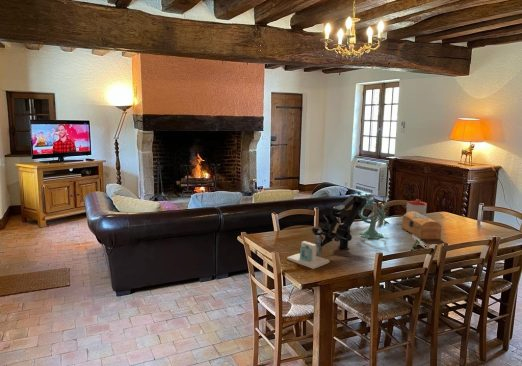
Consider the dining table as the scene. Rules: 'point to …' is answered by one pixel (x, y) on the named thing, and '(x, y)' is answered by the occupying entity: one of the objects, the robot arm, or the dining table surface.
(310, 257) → the spacer
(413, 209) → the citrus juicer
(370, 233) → the green tall branching piece
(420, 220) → the wooden box
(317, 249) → the grey block
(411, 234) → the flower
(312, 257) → the white mounting stand
